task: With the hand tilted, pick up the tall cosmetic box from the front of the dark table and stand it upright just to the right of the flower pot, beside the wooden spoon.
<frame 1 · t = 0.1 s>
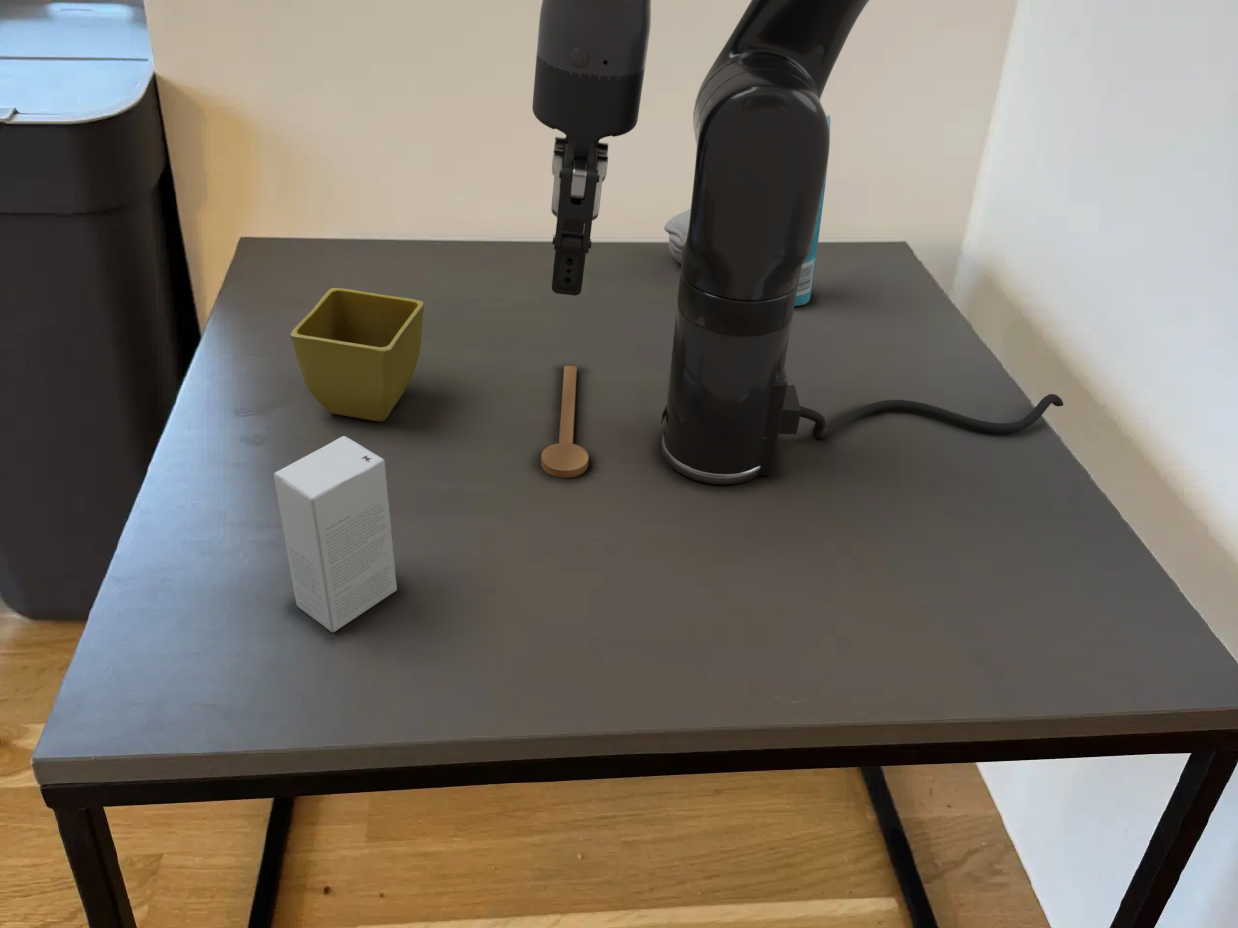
hand: (568, 266, 85), 17 cm above the table, tool pointing down, fingers open, 8 cm apart
wooden spoon: (566, 427, 98), on the table
tube: (785, 298, 121), on the table
flower pot: (367, 407, 99), on the table
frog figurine: (691, 265, 126), on the table
cosmetic box: (346, 601, 79), on the table
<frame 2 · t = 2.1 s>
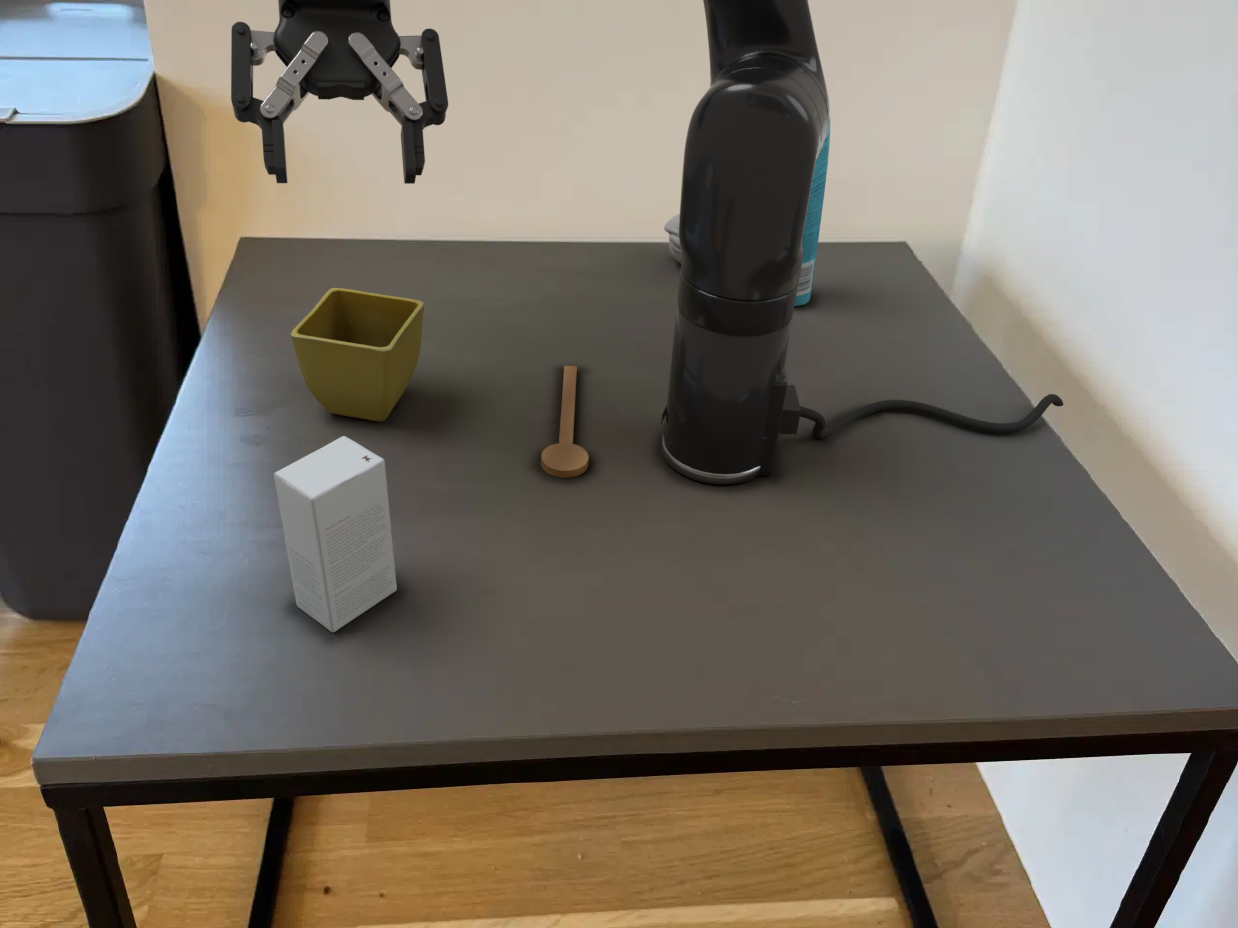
hand: (347, 180, 75), 26 cm above the table, tool tilted 40°, fingers open, 8 cm apart
nothing on the table moved.
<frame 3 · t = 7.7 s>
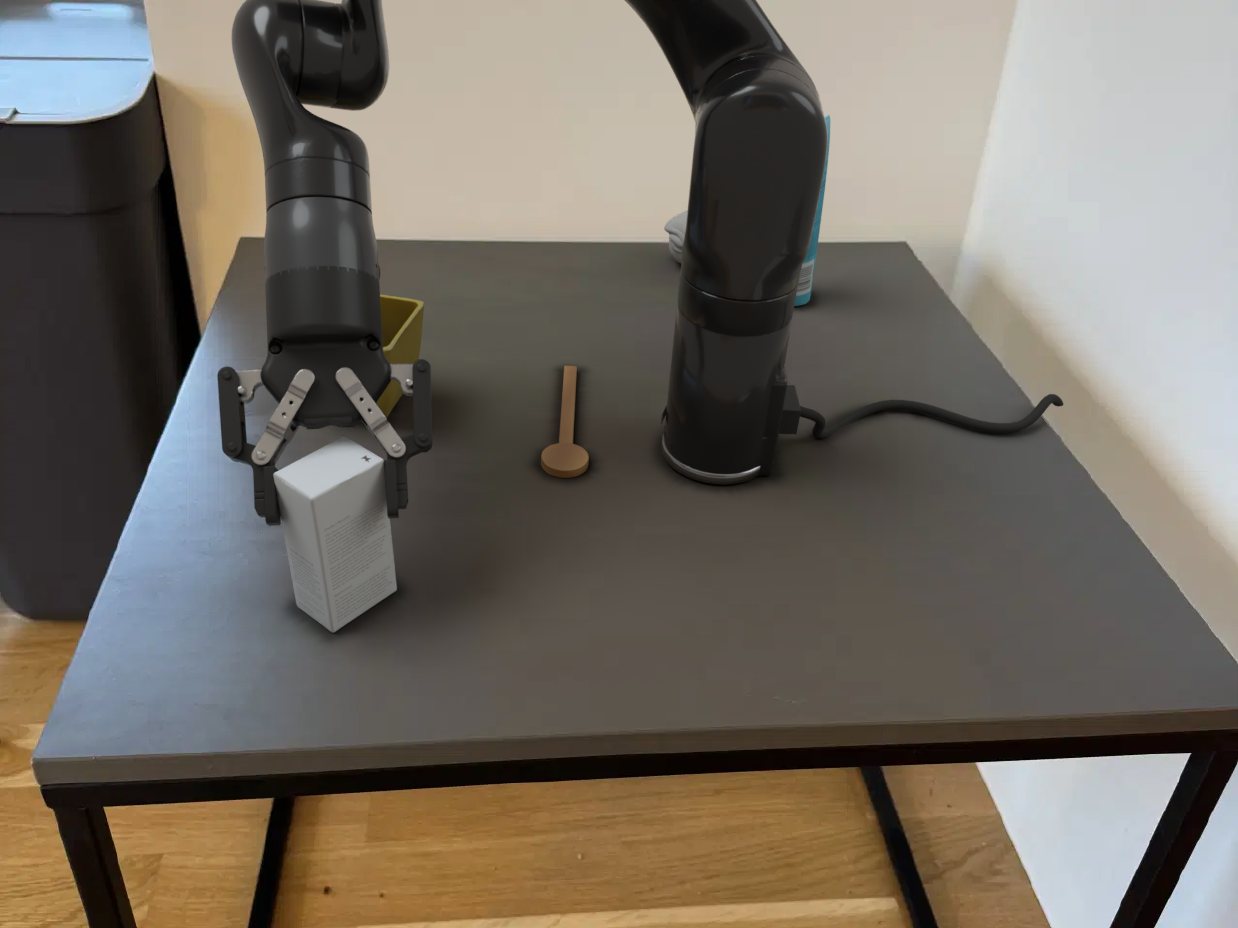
hand: (334, 520, 73), 9 cm above the table, tool tilted 45°, fingers closed on cosmetic box, 7 cm apart
cosmetic box: (346, 601, 79), on the table, touching gripper
everything else where it was.
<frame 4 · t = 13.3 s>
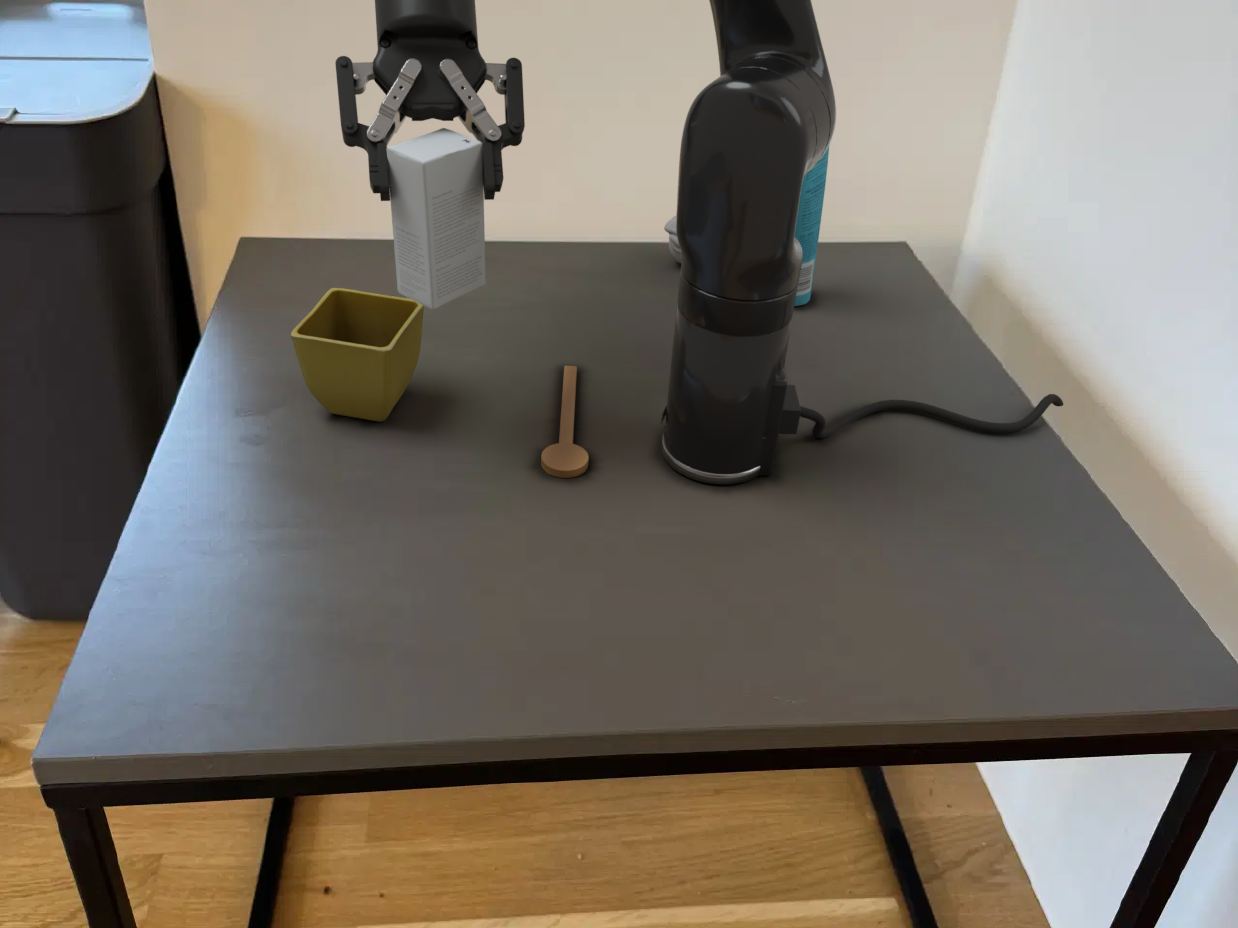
hand: (438, 196, 82), 22 cm above the table, tool tilted 45°, fingers closed on cosmetic box, 7 cm apart
cosmetic box: (441, 291, 88), point 14 cm above the table, touching gripper
everything else where it was.
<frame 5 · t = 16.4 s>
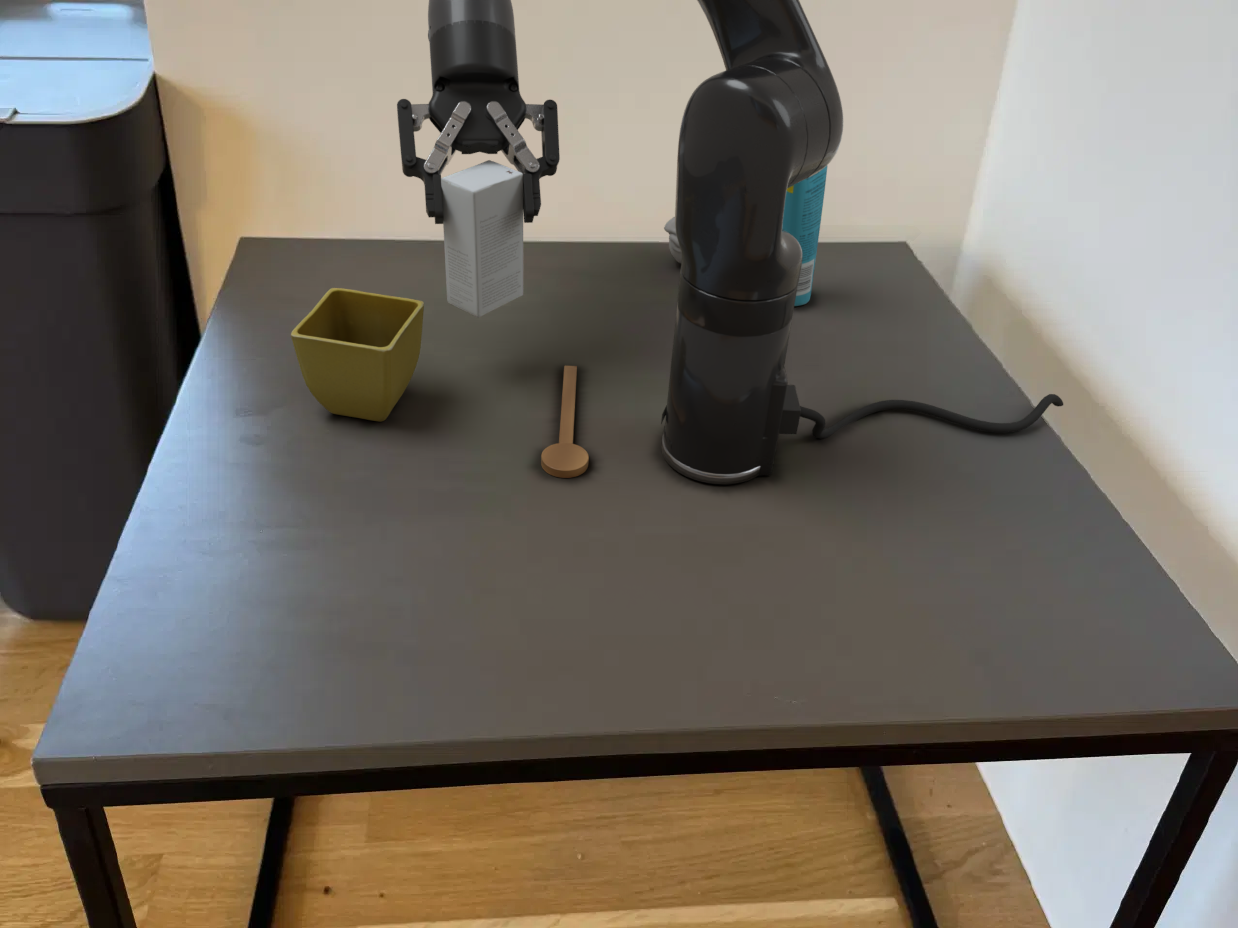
hand: (484, 220, 94), 16 cm above the table, tool tilted 45°, fingers closed on cosmetic box, 7 cm apart
cosmetic box: (484, 301, 101), point 7 cm above the table, touching gripper
everything else where it was.
when the fingers open (9 cm above the table, at t = 19.0 s): cosmetic box stays where it is, on the table.
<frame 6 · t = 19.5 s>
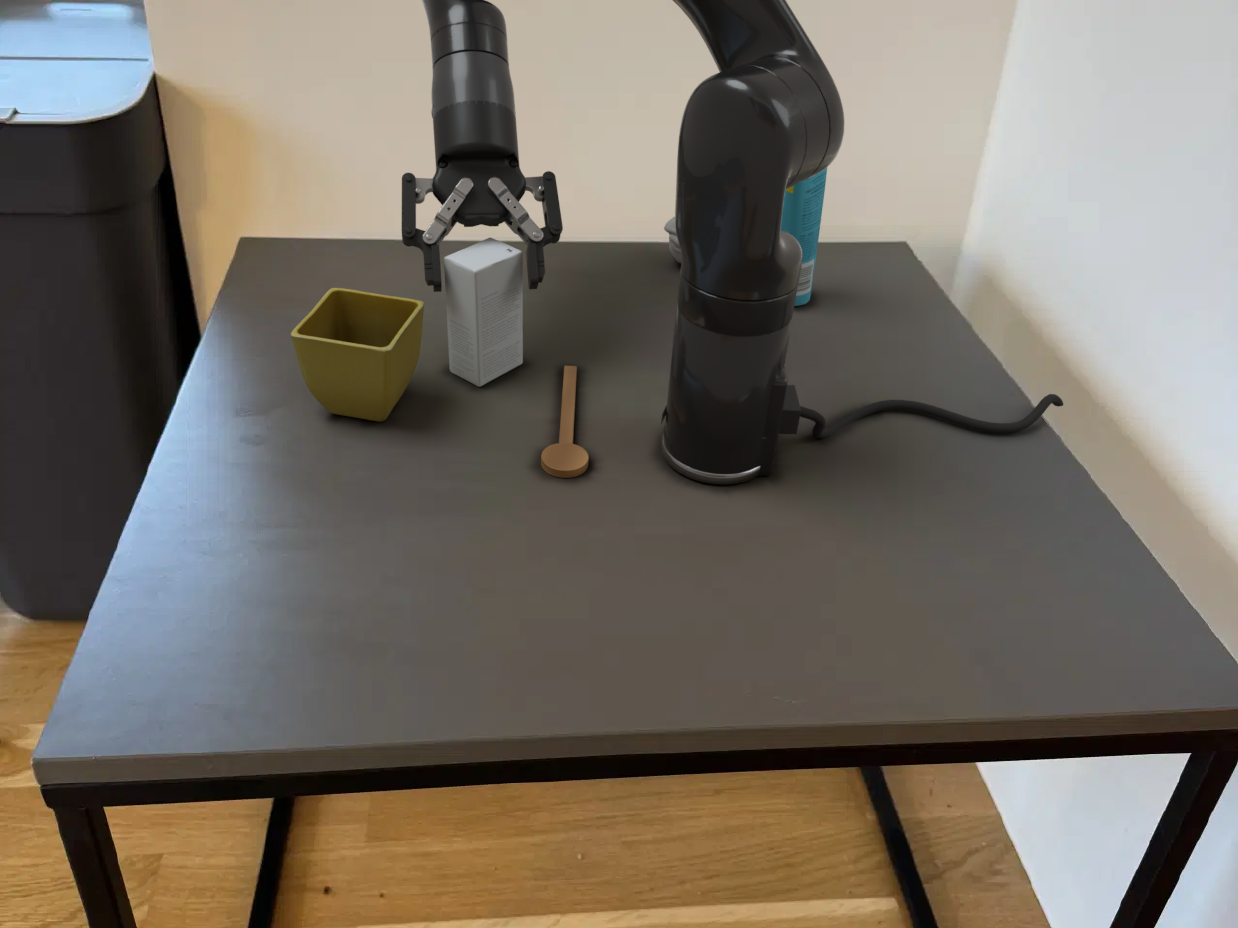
hand: (486, 288, 98), 9 cm above the table, tool tilted 45°, fingers open, 8 cm apart
cosmetic box: (485, 370, 105), on the table
everything else where it was.
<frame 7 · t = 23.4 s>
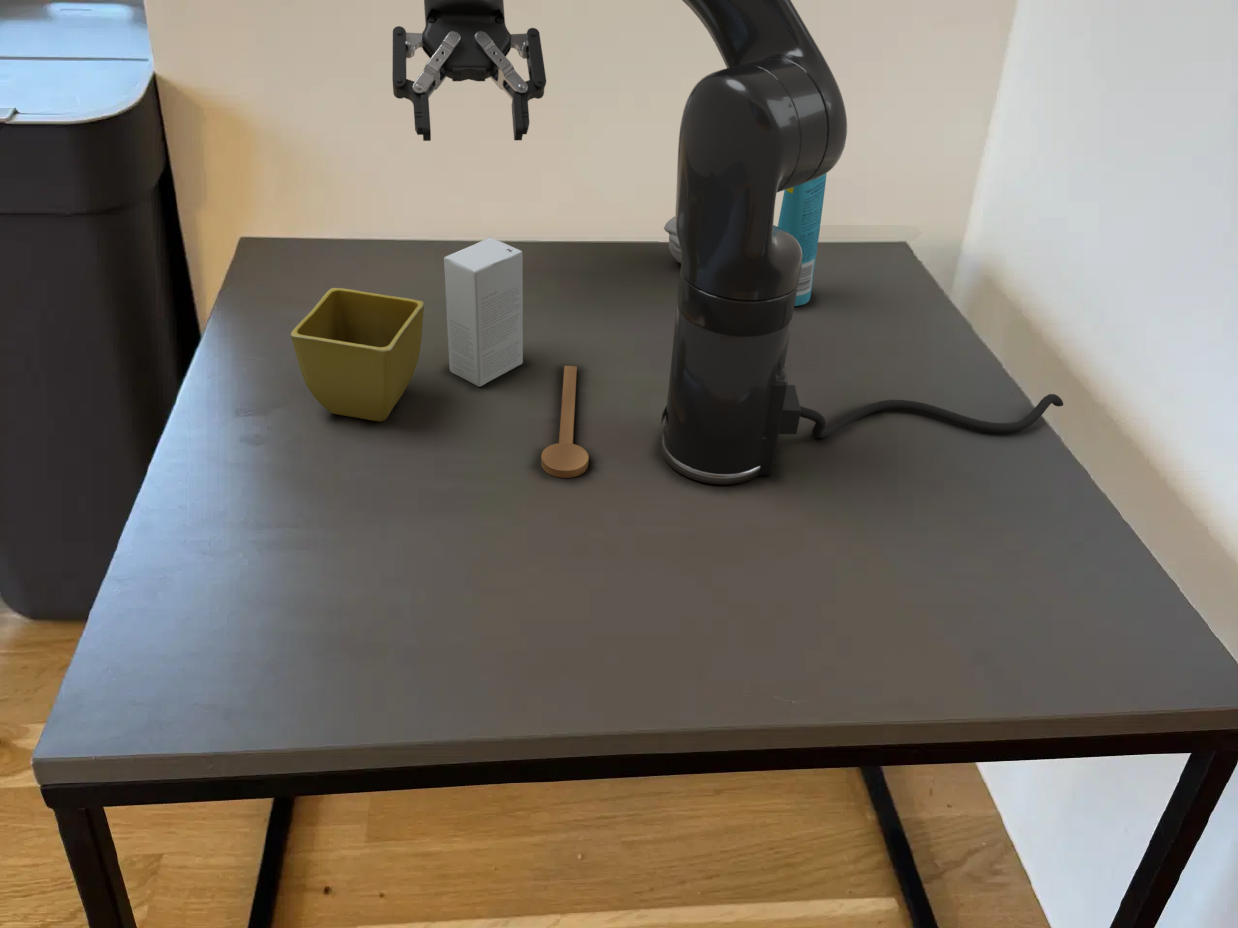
hand: (473, 137, 103), 18 cm above the table, tool tilted 45°, fingers open, 8 cm apart
nothing on the table moved.
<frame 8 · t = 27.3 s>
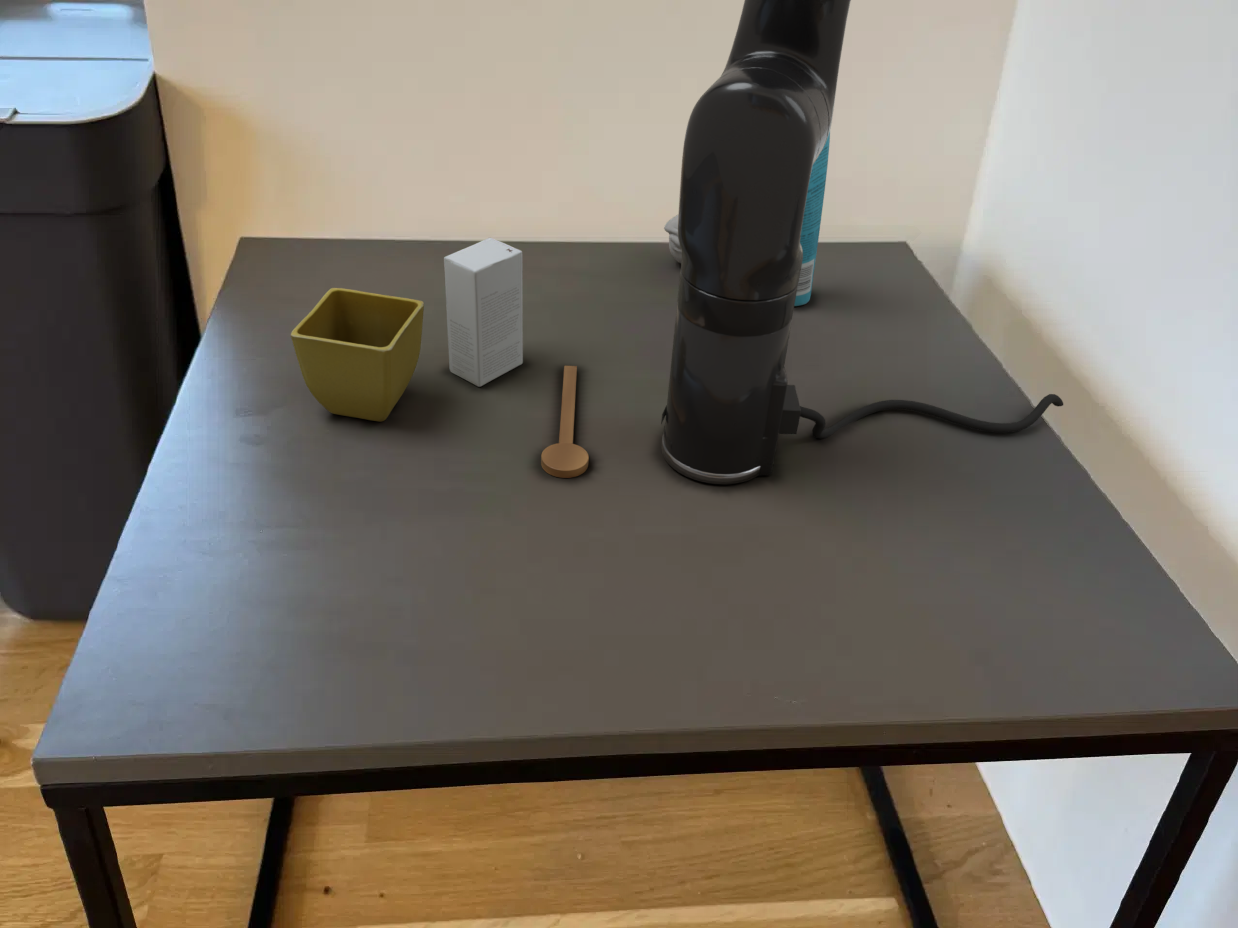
nothing on the table moved.
at the end: cosmetic box inside the target area on the table beside the flower pot (0.7 cm from its centre), on the table; cosmetic box tilted 0°; the gripper is holding nothing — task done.
